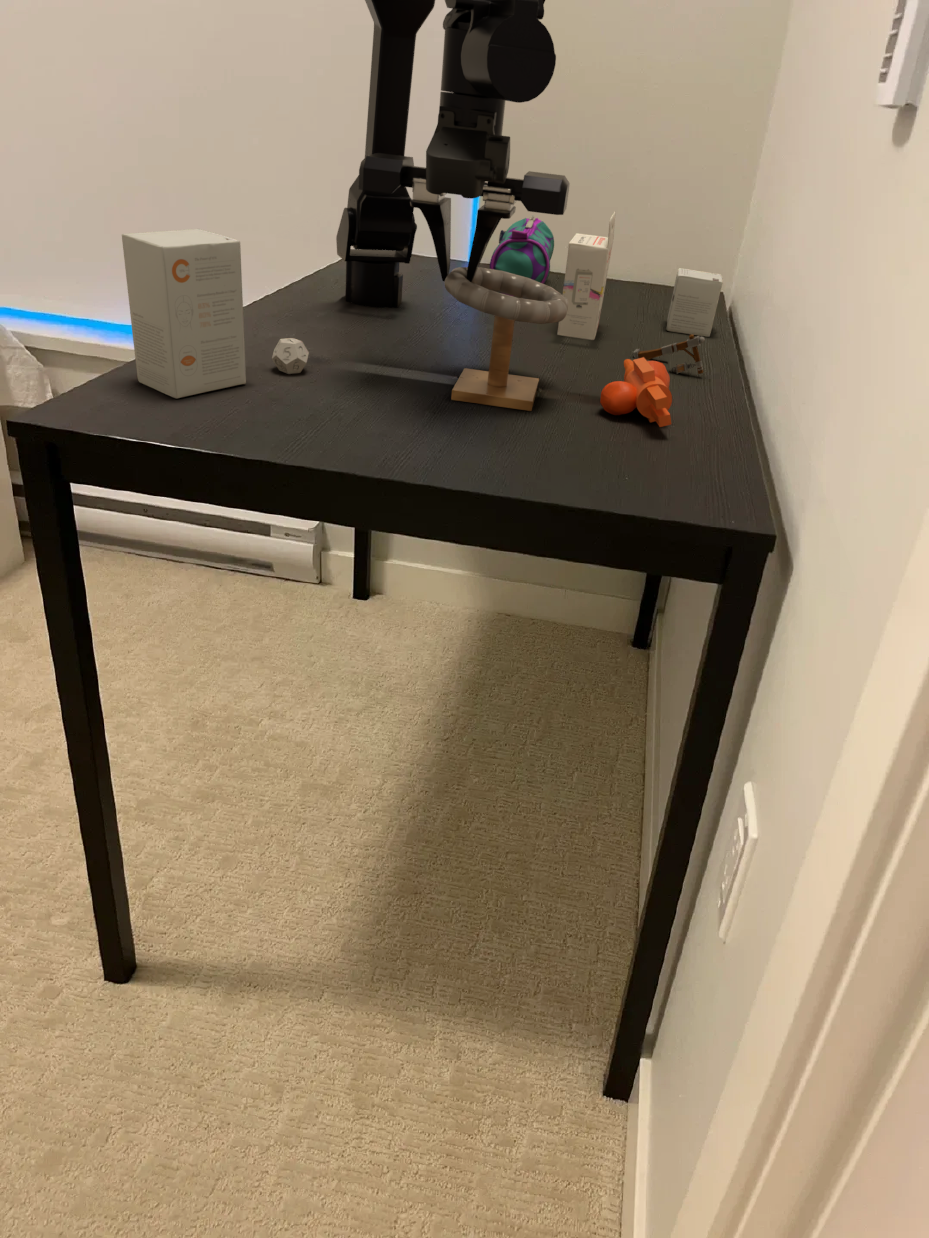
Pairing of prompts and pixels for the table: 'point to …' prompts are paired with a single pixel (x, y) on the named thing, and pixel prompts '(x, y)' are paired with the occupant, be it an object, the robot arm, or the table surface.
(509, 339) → the wooden peg stand
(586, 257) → the ink cartridge box
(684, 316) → the white cardboard box
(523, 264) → the pencil case
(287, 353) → the game die
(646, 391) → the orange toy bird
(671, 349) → the wooden post with brackets
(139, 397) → the table surface
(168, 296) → the small box
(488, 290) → the gray segmented ring
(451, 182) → the robot arm
